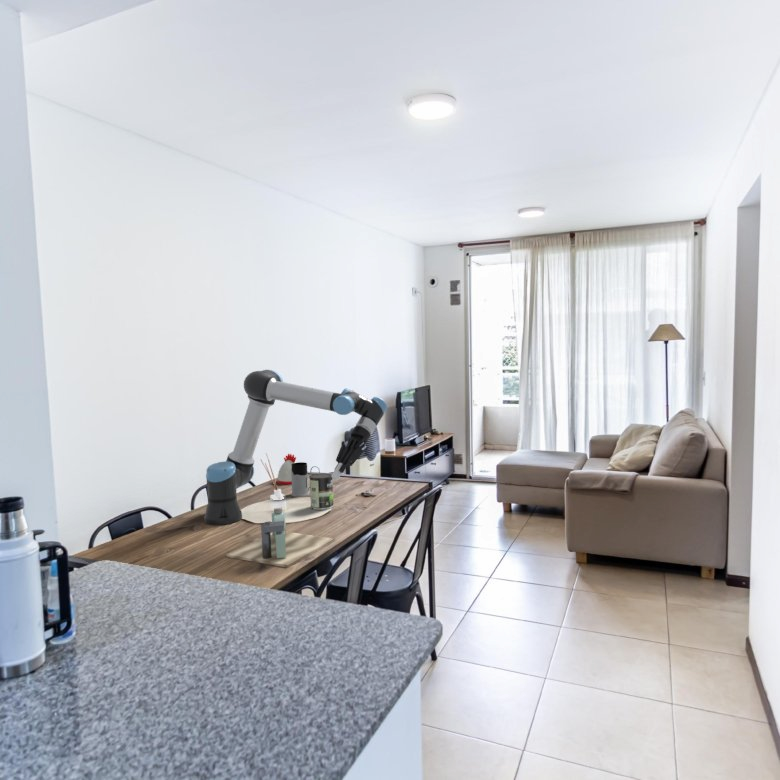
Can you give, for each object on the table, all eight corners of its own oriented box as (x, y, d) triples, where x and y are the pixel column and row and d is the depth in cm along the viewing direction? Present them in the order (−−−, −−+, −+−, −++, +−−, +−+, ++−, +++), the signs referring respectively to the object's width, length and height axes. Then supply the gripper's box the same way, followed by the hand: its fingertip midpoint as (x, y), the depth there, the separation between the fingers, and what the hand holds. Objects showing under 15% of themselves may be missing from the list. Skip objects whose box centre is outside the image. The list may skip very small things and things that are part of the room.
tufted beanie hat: (291, 485, 299) (290, 457, 298) (272, 483, 306) (270, 455, 305) (309, 480, 310) (308, 452, 309) (290, 477, 318) (289, 450, 317)
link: (272, 532, 218) (271, 512, 218) (285, 531, 219) (284, 510, 219) (273, 558, 190) (272, 535, 190) (289, 557, 192) (288, 533, 191)
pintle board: (226, 556, 197) (224, 525, 196) (277, 532, 222) (276, 505, 221) (287, 567, 185) (286, 535, 184) (334, 540, 210) (333, 511, 209)
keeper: (262, 562, 190) (260, 527, 189) (263, 557, 195) (261, 522, 194) (285, 560, 191) (283, 525, 190) (285, 555, 196) (284, 520, 195)
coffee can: (336, 503, 260) (335, 473, 259) (329, 510, 250) (328, 478, 249) (314, 503, 263) (313, 472, 262) (307, 509, 252) (305, 477, 251)
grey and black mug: (293, 492, 284) (292, 462, 283) (322, 491, 284) (320, 461, 283) (289, 496, 276) (288, 465, 275) (318, 496, 275) (317, 465, 274)
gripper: (379, 437, 232) (350, 486, 221) (356, 434, 241) (328, 481, 230) (369, 426, 228) (340, 475, 217) (347, 423, 237) (317, 470, 226)
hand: (334, 478), depth 223 cm, fingers closed
